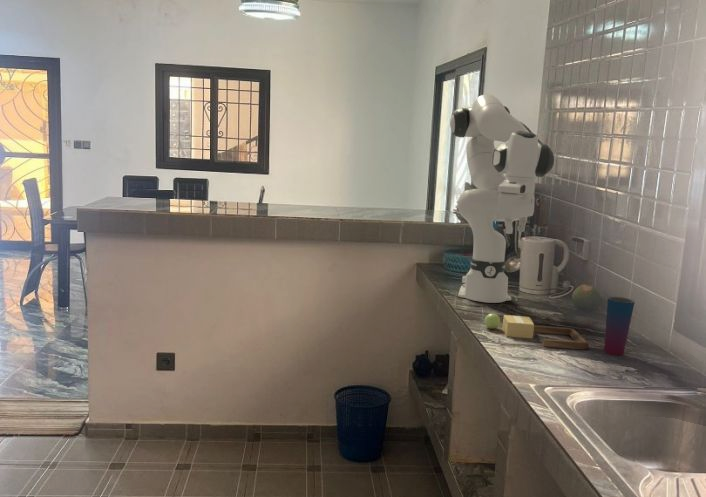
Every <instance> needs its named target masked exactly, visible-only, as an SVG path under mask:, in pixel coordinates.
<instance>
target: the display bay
mask: <svg viewBox="0 0 706 497" xmlns="http://www.w3.org/2000/svg"><path fill="white" fill-rule="evenodd" d="M533 333H537V334H538V333H539V334H552V335H567V336H570V337H571V339H573V340H566V339H565V340H563V339H552V338H543V339H542V346H543V347H548V348H560V349H563V348H564V349H576V350H577V349H578V350H589V344H590V342H588V341H587V340H586V339H585V338H584V337H583V336H582V335H581V334H580V333H579V332H578V331H576V329H575V328H574V327H564V326H562V327H560V326H549V325H548V326H545V325H535V324H534V331H533Z"/></svg>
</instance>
